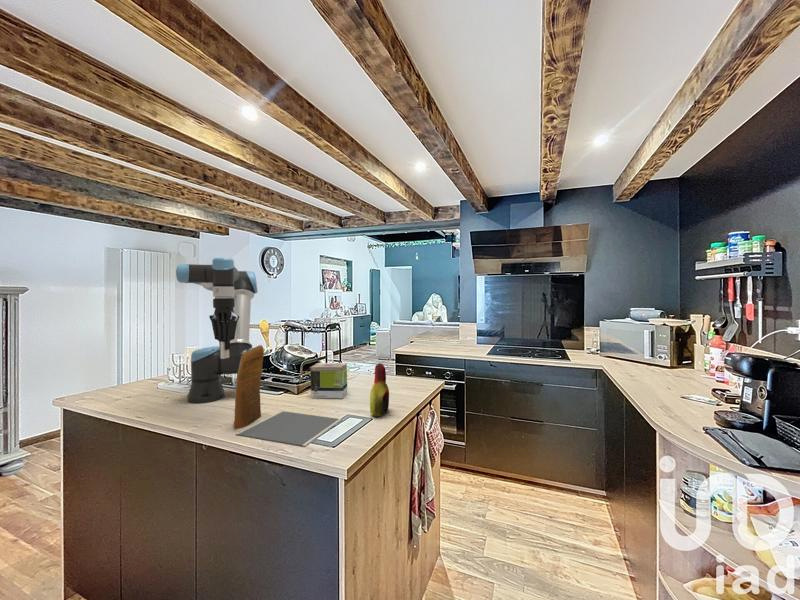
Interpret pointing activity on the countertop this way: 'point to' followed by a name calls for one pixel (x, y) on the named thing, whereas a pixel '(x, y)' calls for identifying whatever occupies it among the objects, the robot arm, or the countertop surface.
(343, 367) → the tea box
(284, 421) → the mat
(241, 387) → the pancake mix bag
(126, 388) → the countertop surface
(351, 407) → the countertop surface
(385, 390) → the bottle
